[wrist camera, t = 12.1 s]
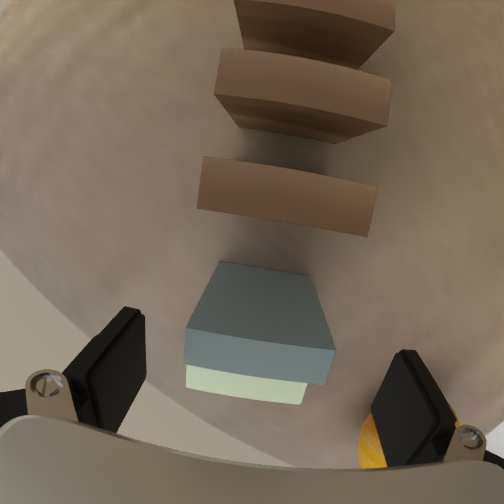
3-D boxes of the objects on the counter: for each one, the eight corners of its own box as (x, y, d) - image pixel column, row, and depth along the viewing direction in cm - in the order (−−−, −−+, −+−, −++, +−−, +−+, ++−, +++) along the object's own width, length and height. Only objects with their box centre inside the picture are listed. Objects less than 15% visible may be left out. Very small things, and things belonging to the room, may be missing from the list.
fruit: (444, 364, 22) (486, 422, 14) (430, 424, 24) (457, 480, 16) (349, 388, 23) (372, 462, 15) (348, 446, 25) (362, 511, 17)
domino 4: (219, 261, 20) (185, 327, 12) (310, 275, 20) (336, 350, 12) (216, 286, 21) (183, 363, 12) (304, 300, 21) (324, 384, 12)
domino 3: (233, 161, 19) (203, 156, 10) (329, 177, 19) (377, 187, 10) (229, 190, 19) (196, 208, 11) (324, 205, 19) (367, 237, 10)
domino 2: (243, 99, 18) (222, 47, 9) (338, 116, 18) (391, 80, 9) (238, 127, 18) (213, 93, 10) (334, 143, 18) (386, 126, 9)
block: (197, 330, 22) (187, 353, 19) (306, 347, 22) (311, 371, 19) (194, 363, 23) (185, 387, 20) (297, 379, 23) (300, 404, 20)
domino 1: (252, 44, 17) (241, -34, 8) (345, 60, 17) (394, -3, 8) (248, 68, 17) (233, -1, 8) (343, 85, 17) (394, 31, 8)
